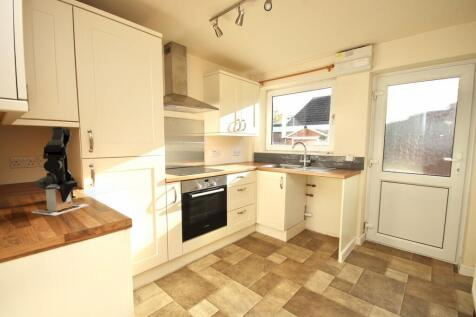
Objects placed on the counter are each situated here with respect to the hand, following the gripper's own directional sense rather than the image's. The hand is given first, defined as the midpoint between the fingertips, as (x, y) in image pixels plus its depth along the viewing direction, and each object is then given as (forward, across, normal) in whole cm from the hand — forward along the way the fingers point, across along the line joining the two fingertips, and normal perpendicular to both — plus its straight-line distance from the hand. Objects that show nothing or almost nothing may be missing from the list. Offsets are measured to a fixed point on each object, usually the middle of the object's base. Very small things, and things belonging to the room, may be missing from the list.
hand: (59, 201), depth 107 cm
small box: (+4, 0, 0) cm, 4 cm away
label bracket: (+4, 0, 0) cm, 4 cm away
